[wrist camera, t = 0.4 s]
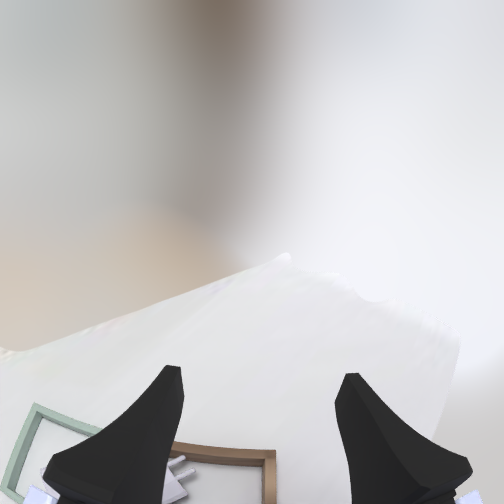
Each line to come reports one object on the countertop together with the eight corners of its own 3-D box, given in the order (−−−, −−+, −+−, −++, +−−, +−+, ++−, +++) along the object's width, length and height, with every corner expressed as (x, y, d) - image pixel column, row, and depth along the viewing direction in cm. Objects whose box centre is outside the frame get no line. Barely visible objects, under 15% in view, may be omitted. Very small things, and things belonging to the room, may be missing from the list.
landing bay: (147, 560, 11) (143, 560, 10) (6, 493, 11) (-1, 489, 10) (166, 448, 23) (164, 444, 23) (39, 408, 23) (34, 402, 22)
